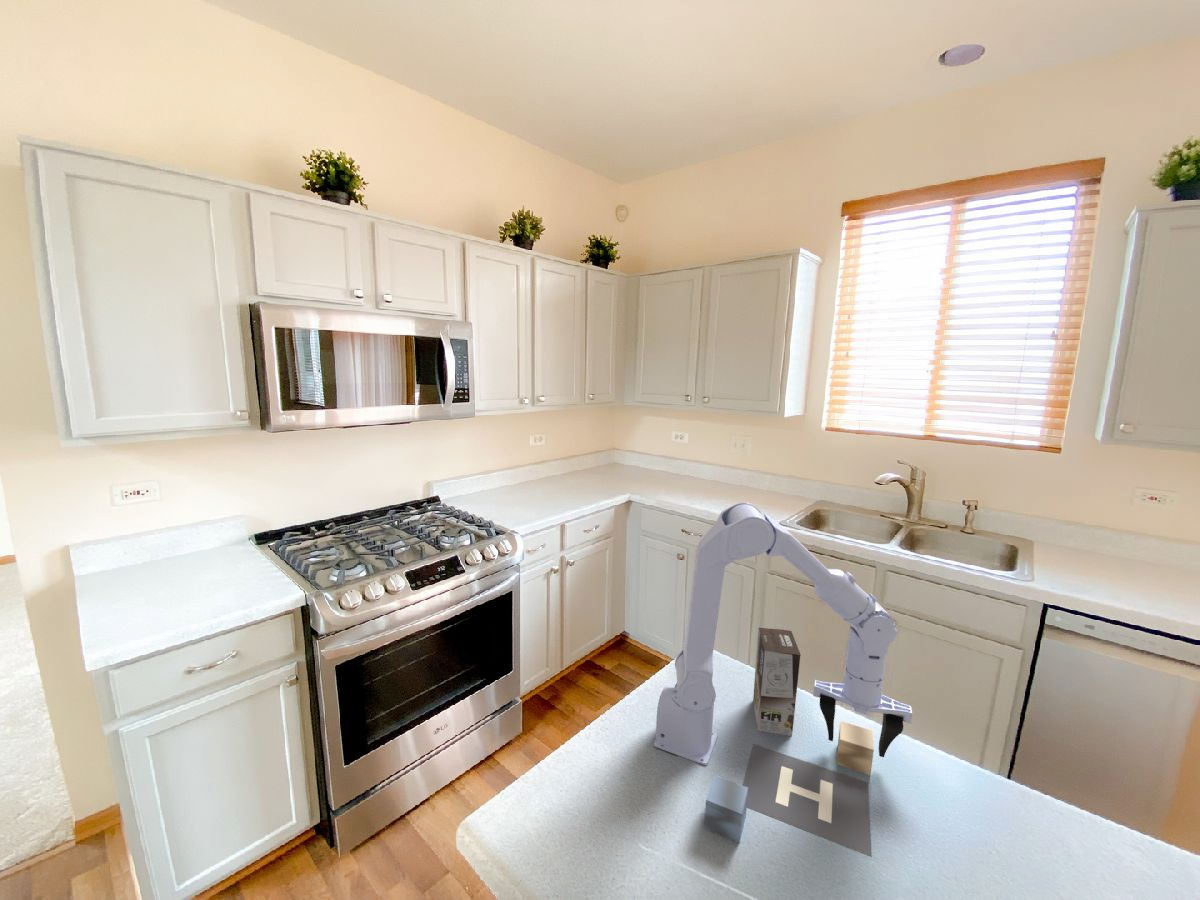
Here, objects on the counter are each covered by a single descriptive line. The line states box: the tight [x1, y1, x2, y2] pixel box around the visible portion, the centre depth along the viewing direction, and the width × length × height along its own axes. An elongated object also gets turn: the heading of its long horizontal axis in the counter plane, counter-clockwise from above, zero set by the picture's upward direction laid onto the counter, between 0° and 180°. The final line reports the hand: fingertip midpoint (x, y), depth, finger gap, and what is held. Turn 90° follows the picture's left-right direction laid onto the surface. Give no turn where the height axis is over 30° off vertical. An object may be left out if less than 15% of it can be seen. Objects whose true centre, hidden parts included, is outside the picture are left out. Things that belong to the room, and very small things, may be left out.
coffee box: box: [752, 627, 801, 737], centre depth 94 cm, size 9×6×16 cm
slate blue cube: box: [703, 774, 748, 844], centre depth 72 cm, size 5×5×5 cm
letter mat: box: [742, 743, 873, 858], centre depth 78 cm, size 18×14×1 cm
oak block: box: [836, 720, 875, 776], centre depth 85 cm, size 5×5×5 cm
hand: (855, 744), depth 85 cm, fingers open, 7 cm apart
